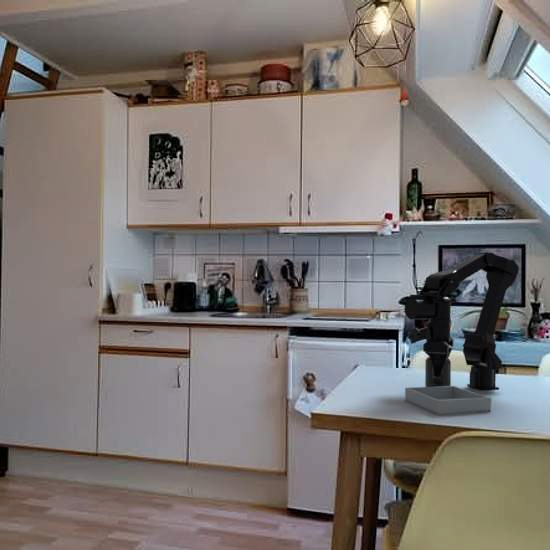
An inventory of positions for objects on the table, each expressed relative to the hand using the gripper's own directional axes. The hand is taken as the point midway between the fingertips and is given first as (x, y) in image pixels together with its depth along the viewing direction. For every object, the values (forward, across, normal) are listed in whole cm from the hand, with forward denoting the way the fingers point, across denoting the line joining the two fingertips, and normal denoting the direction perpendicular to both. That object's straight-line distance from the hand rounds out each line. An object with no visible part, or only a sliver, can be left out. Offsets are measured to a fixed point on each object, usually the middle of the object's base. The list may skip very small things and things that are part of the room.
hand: (438, 374), depth 145 cm
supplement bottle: (+5, 0, 0) cm, 5 cm away
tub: (+5, +15, +4) cm, 17 cm away
